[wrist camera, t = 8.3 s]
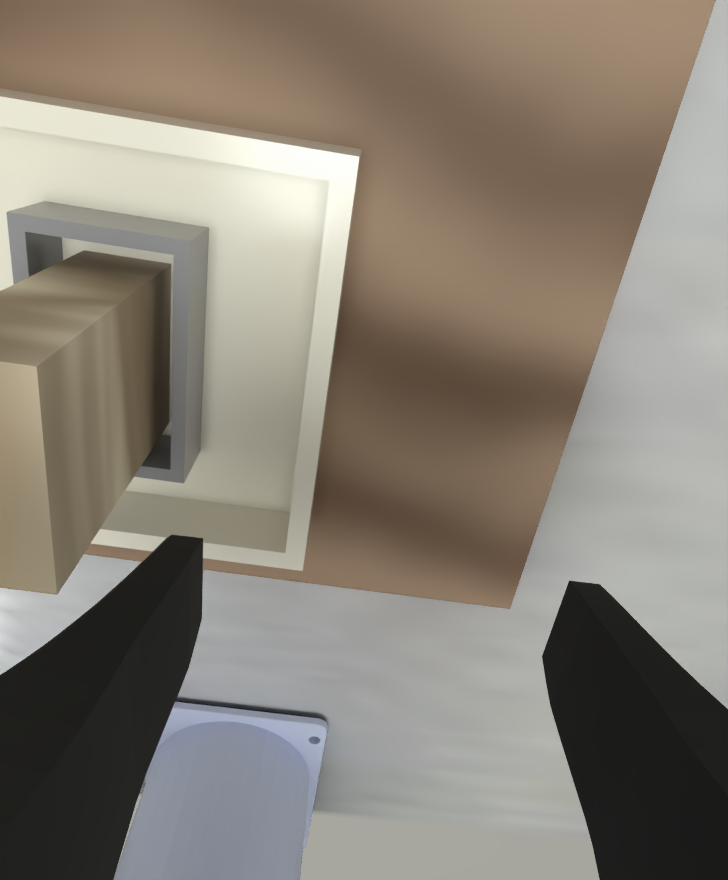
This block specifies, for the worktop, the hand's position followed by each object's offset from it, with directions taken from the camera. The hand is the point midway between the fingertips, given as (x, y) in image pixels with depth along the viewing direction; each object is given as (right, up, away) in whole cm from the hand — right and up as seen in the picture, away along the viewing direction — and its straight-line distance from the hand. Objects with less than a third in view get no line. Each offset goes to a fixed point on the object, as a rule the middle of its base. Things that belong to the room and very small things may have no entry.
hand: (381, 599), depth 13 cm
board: (-3, +7, +7) cm, 11 cm away
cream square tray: (-7, +7, +8) cm, 13 cm away
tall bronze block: (-7, +6, +6) cm, 11 cm away
